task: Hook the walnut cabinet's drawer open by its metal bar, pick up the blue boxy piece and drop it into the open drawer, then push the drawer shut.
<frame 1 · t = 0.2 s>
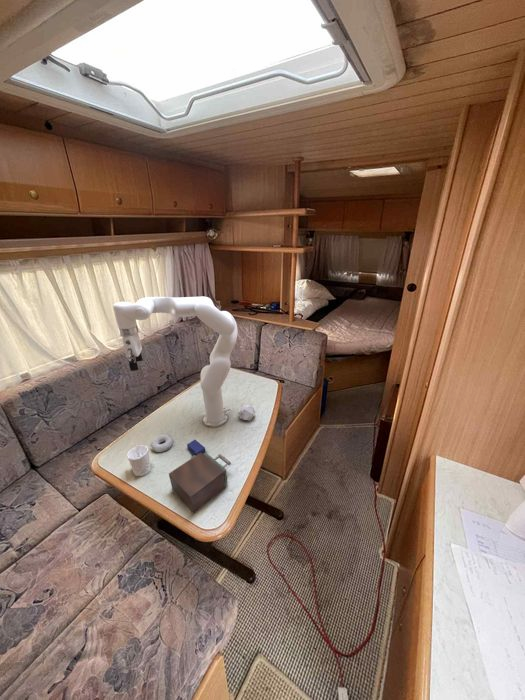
hand: (136, 365, 126), 37 cm above the table, tool pointing down, fingers open, 9 cm apart
cabinet: (199, 488, 107), on the table
white cup: (142, 470, 117), on the table
die: (246, 418, 147), on the table
blue boxy piece: (196, 450, 126), on the table
drawer: (207, 473, 109), point 4 cm above the table, slide at 0.5 cm
donut: (162, 446, 130), on the table
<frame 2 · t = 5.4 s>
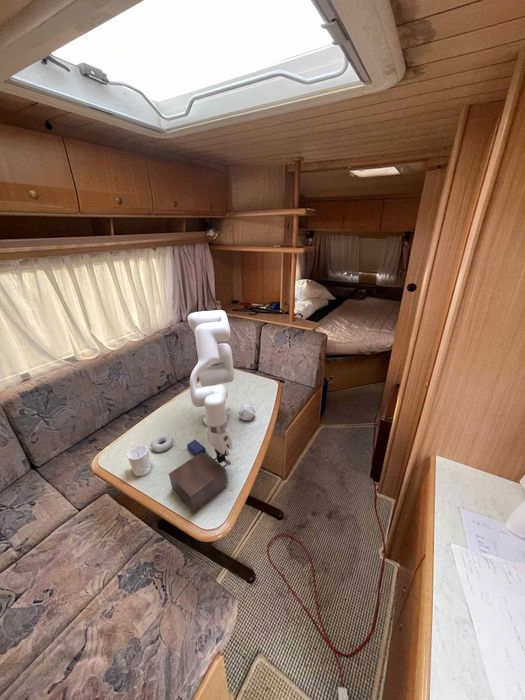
hand: (221, 460, 112), 6 cm above the table, tool pointing down, fingers closed
drawer: (207, 473, 109), point 4 cm above the table, slide at 0.6 cm, touching gripper
everything else where it was.
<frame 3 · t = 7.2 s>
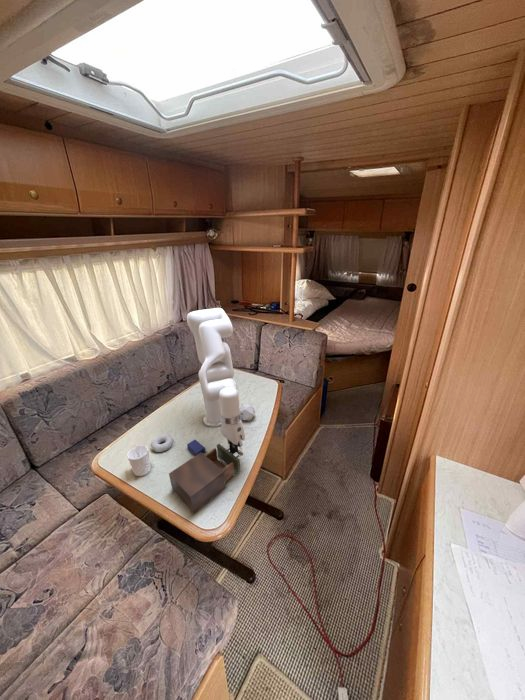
hand: (234, 451, 117), 6 cm above the table, tool pointing down, fingers closed
drawer: (221, 463, 113), point 4 cm above the table, slide at 7.4 cm, touching gripper
everything else where it was.
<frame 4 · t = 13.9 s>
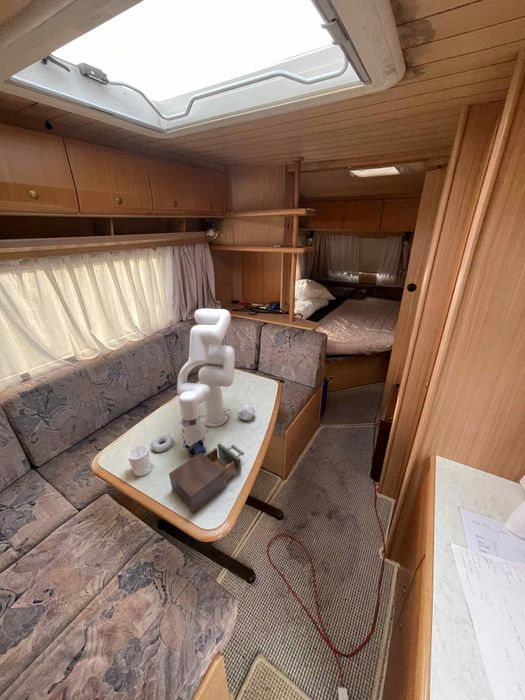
hand: (196, 450, 126), 0 cm above the table, tool pointing down, fingers closed on blue boxy piece, 4 cm apart
blue boxy piece: (196, 450, 126), on the table, touching gripper
drawer: (222, 462, 113), point 4 cm above the table, slide at 7.8 cm
everything else where it was.
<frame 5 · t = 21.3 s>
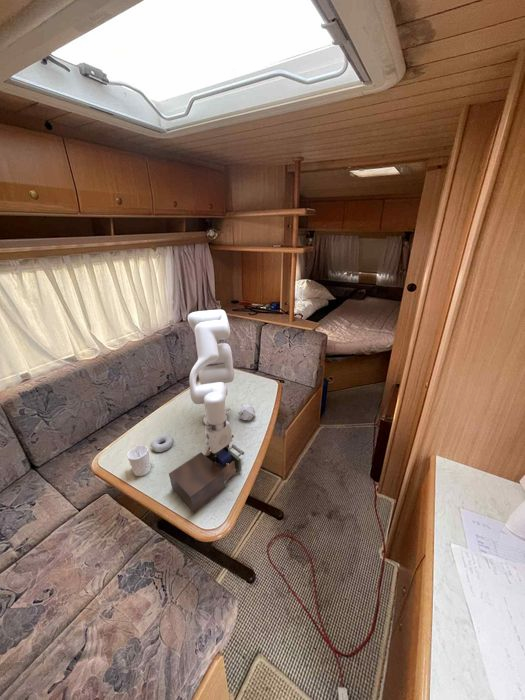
hand: (220, 457, 112), 7 cm above the table, tool pointing down, fingers closed on blue boxy piece, 4 cm apart
blue boxy piece: (221, 458, 112), point 7 cm above the table, touching gripper
everything else where it was.
when the fingers open (6 cm above the table, at t = 28.5 s): blue boxy piece drops 4 cm, resting on drawer.
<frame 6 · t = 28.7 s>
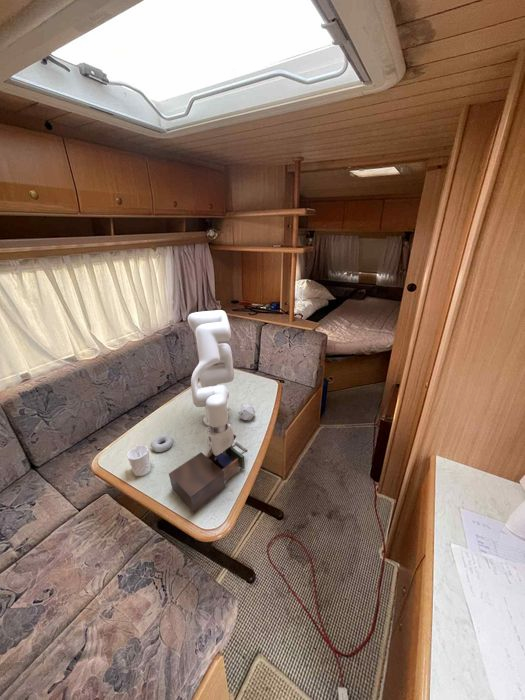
hand: (222, 459, 113), 6 cm above the table, tool pointing down, fingers open, 6 cm apart
blue boxy piece: (224, 465, 115), point 2 cm above the table, touching drawer
drawer: (226, 459, 115), point 4 cm above the table, slide at 9.9 cm, touching blue boxy piece
everything else where it was.
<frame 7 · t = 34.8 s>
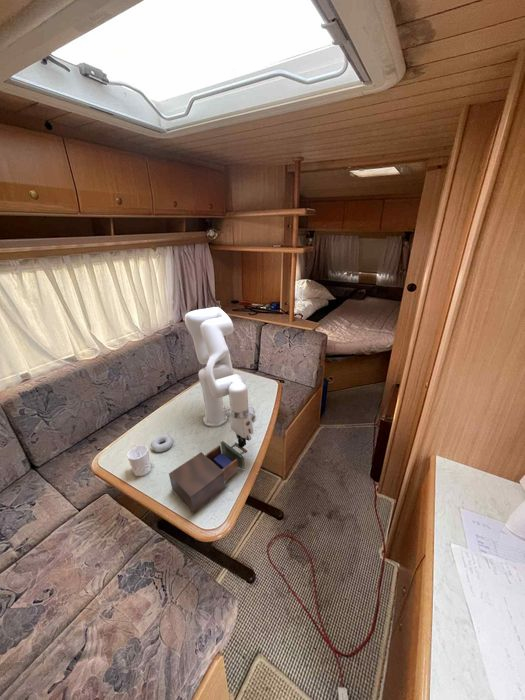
hand: (242, 445, 120), 6 cm above the table, tool pointing down, fingers closed
drawer: (225, 460, 115), point 4 cm above the table, slide at 9.7 cm, touching gripper, blue boxy piece
everything else where it was.
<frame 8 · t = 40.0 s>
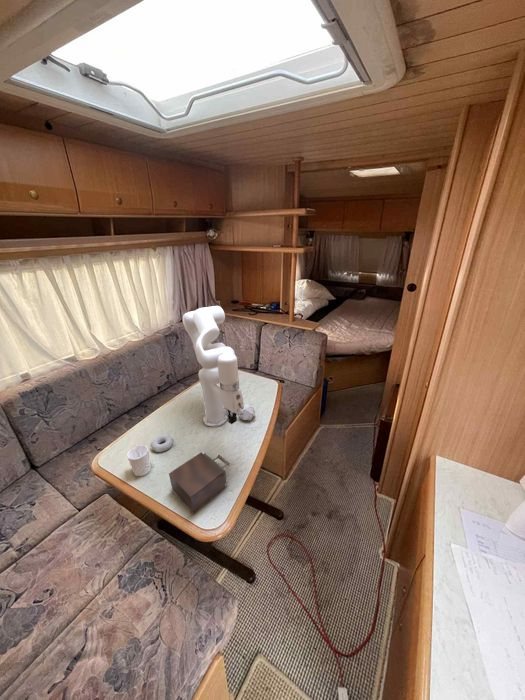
hand: (232, 421, 115), 19 cm above the table, tool pointing down, fingers closed
blue boxy piece: (205, 480, 108), point 2 cm above the table, touching drawer
drawer: (206, 474, 108), point 4 cm above the table, slide at 0.1 cm, touching blue boxy piece
everything else where it was.
at the end: drawer pulled out 10.1 cm at the most during the clip, back to where it started at the end; blue boxy piece inside the target area in the cabinet (2.7 cm from its centre), point 2.1 cm above the cabinet's base; drawer slide at 0.1 cm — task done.
